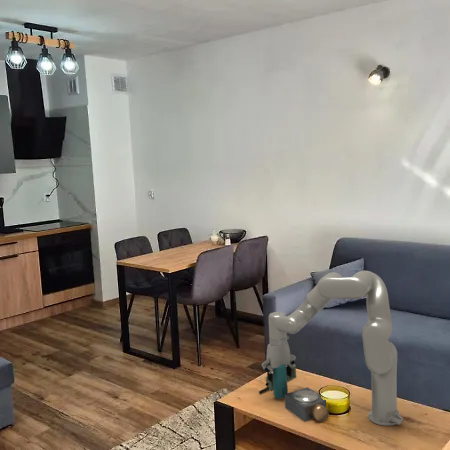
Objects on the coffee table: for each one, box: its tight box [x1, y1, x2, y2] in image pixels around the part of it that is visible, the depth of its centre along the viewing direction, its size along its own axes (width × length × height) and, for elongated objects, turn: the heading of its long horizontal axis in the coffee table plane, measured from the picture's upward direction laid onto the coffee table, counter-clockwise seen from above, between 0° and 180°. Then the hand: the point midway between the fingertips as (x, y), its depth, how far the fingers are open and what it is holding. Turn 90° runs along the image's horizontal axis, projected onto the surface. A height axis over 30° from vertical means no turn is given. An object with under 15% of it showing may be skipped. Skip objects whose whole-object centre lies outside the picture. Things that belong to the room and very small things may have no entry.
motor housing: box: [284, 387, 330, 423], centre depth 211 cm, size 18×12×6 cm, turn 27°
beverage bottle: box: [272, 364, 289, 399], centre depth 224 cm, size 6×7×20 cm
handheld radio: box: [258, 363, 297, 395], centre depth 238 cm, size 7×3×25 cm
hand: (279, 378), depth 224 cm, fingers open, 9 cm apart
